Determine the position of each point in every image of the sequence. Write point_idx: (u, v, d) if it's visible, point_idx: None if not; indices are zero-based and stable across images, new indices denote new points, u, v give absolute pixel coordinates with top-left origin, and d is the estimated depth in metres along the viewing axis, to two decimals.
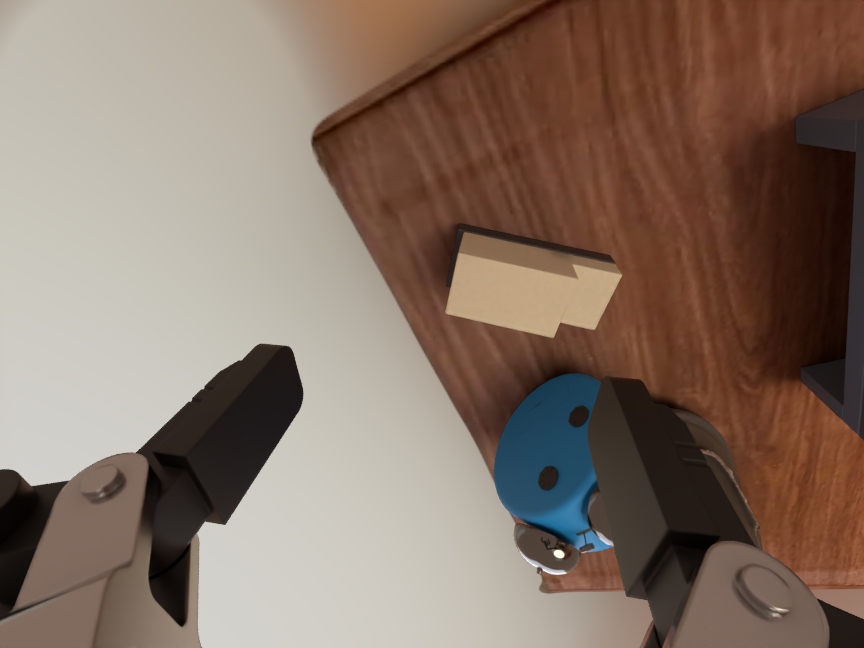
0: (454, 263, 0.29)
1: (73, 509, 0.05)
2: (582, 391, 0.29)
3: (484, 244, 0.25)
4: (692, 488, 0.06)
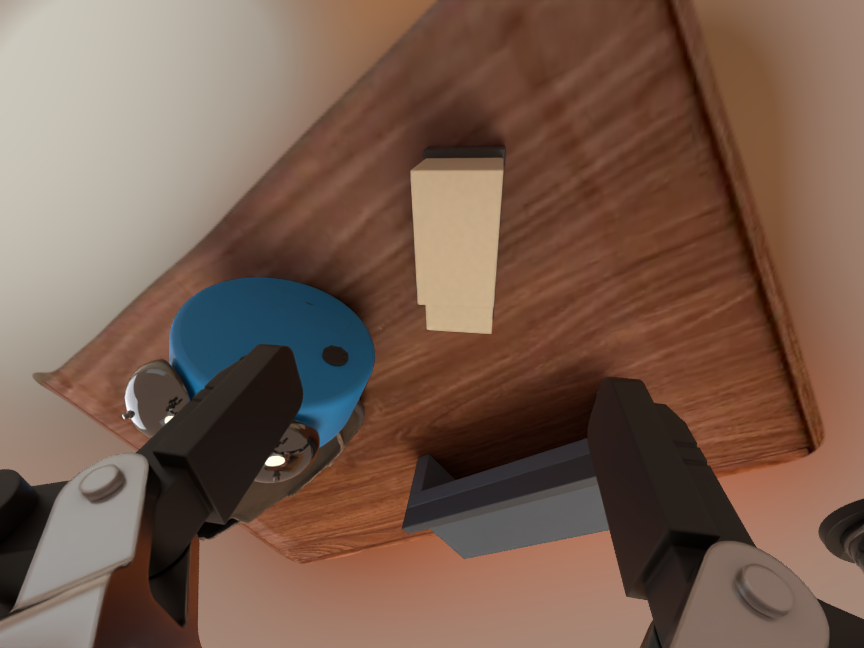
0: (458, 154, 0.22)
1: (73, 509, 0.05)
2: (356, 343, 0.27)
3: None
4: (692, 488, 0.06)
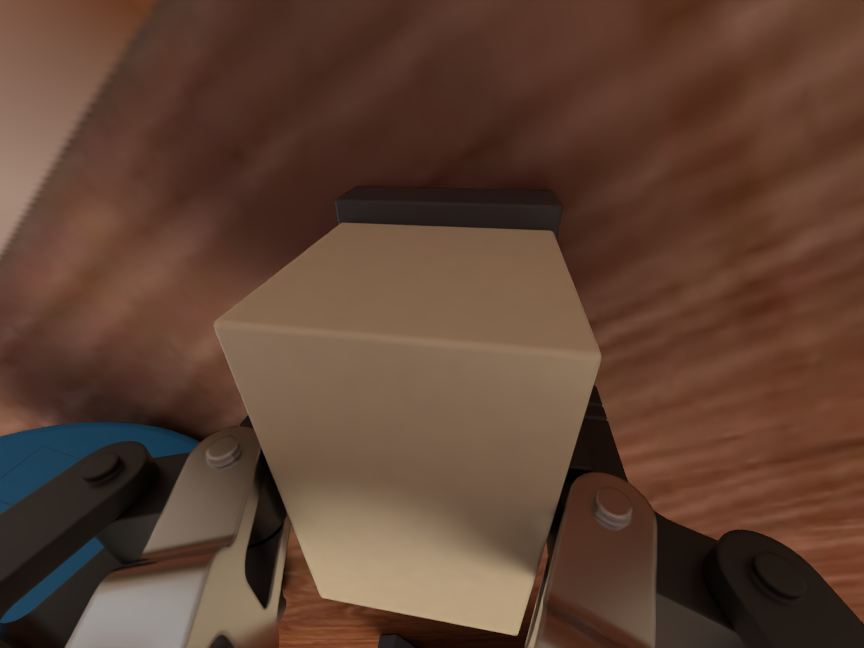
0: (428, 215, 0.08)
1: (203, 475, 0.06)
2: None
3: None
4: (580, 435, 0.07)
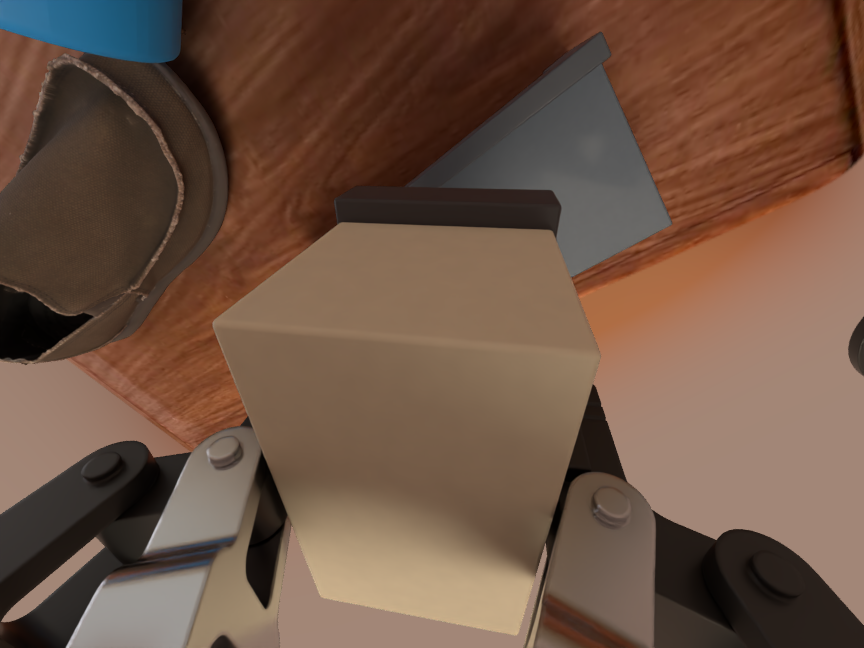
0: (428, 215, 0.08)
1: (204, 475, 0.06)
2: None
3: None
4: (580, 434, 0.07)
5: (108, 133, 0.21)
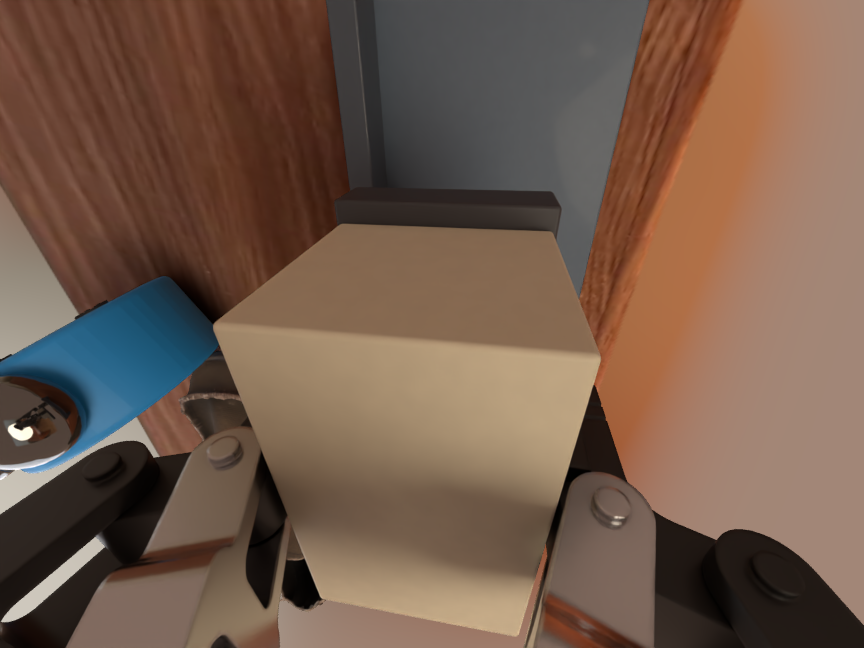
0: (428, 216, 0.08)
1: (204, 475, 0.06)
2: None
3: None
4: (579, 434, 0.07)
5: (228, 422, 0.27)
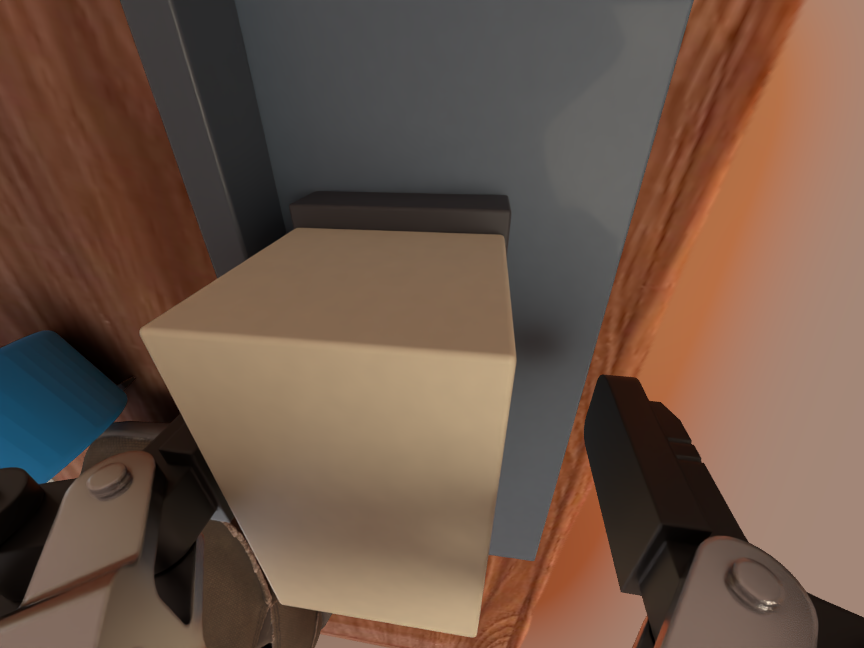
0: (382, 220, 0.08)
1: (81, 506, 0.05)
2: None
3: None
4: (686, 484, 0.06)
5: None
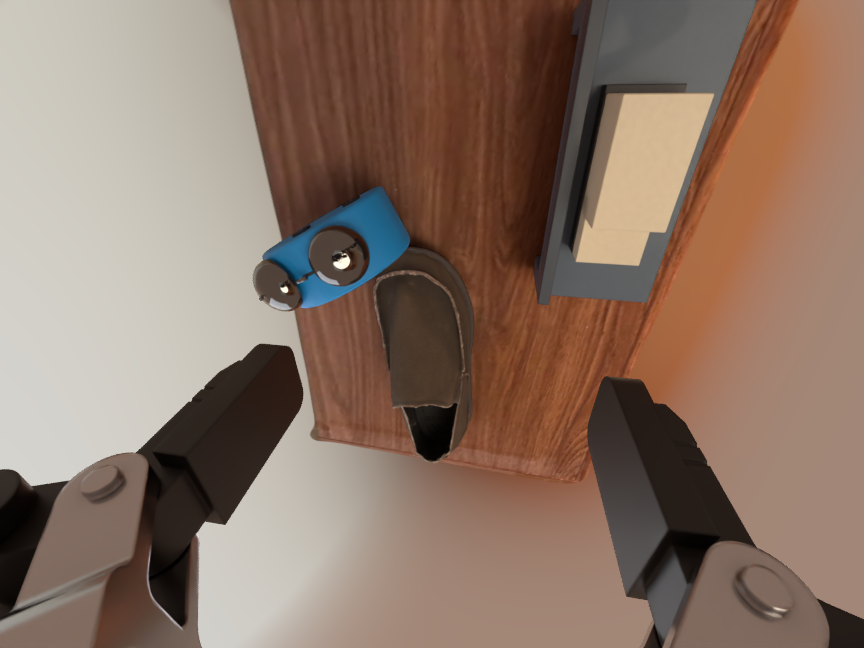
0: (640, 89, 0.24)
1: (73, 509, 0.05)
2: (367, 192, 0.34)
3: None
4: (692, 488, 0.06)
5: (408, 297, 0.38)
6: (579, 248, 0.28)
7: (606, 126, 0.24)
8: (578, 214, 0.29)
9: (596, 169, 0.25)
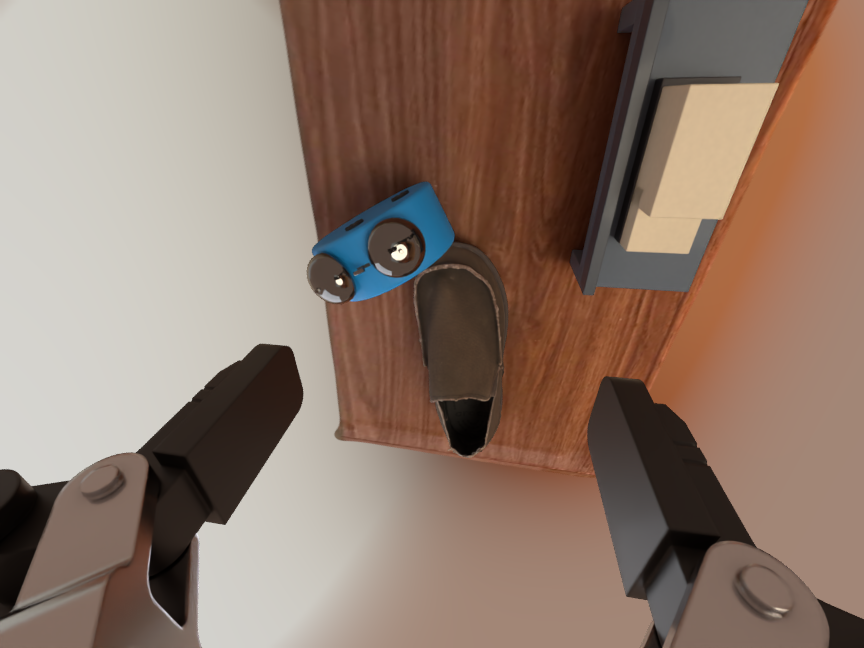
0: (695, 82, 0.25)
1: (73, 509, 0.05)
2: (413, 187, 0.34)
3: None
4: (692, 488, 0.06)
5: (449, 291, 0.39)
6: (630, 237, 0.29)
7: (665, 117, 0.24)
8: (627, 205, 0.30)
9: (652, 159, 0.26)
